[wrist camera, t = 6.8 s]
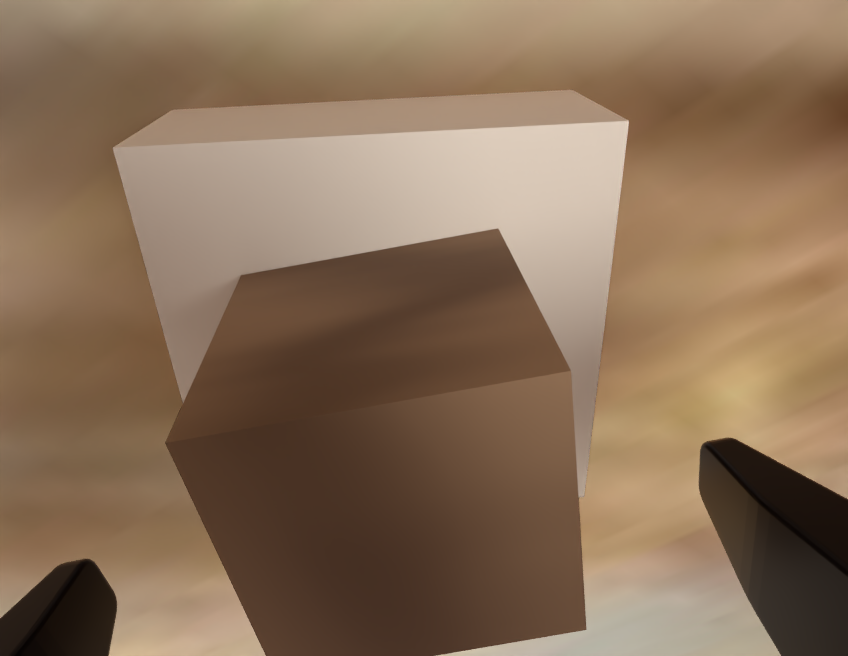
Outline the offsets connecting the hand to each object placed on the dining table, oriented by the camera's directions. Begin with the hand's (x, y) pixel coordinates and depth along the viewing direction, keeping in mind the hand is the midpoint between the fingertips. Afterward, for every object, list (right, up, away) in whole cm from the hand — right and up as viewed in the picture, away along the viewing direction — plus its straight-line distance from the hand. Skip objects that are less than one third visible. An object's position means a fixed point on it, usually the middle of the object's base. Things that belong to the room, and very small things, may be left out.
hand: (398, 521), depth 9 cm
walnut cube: (0, +2, +4) cm, 5 cm away
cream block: (-1, +4, +7) cm, 9 cm away
